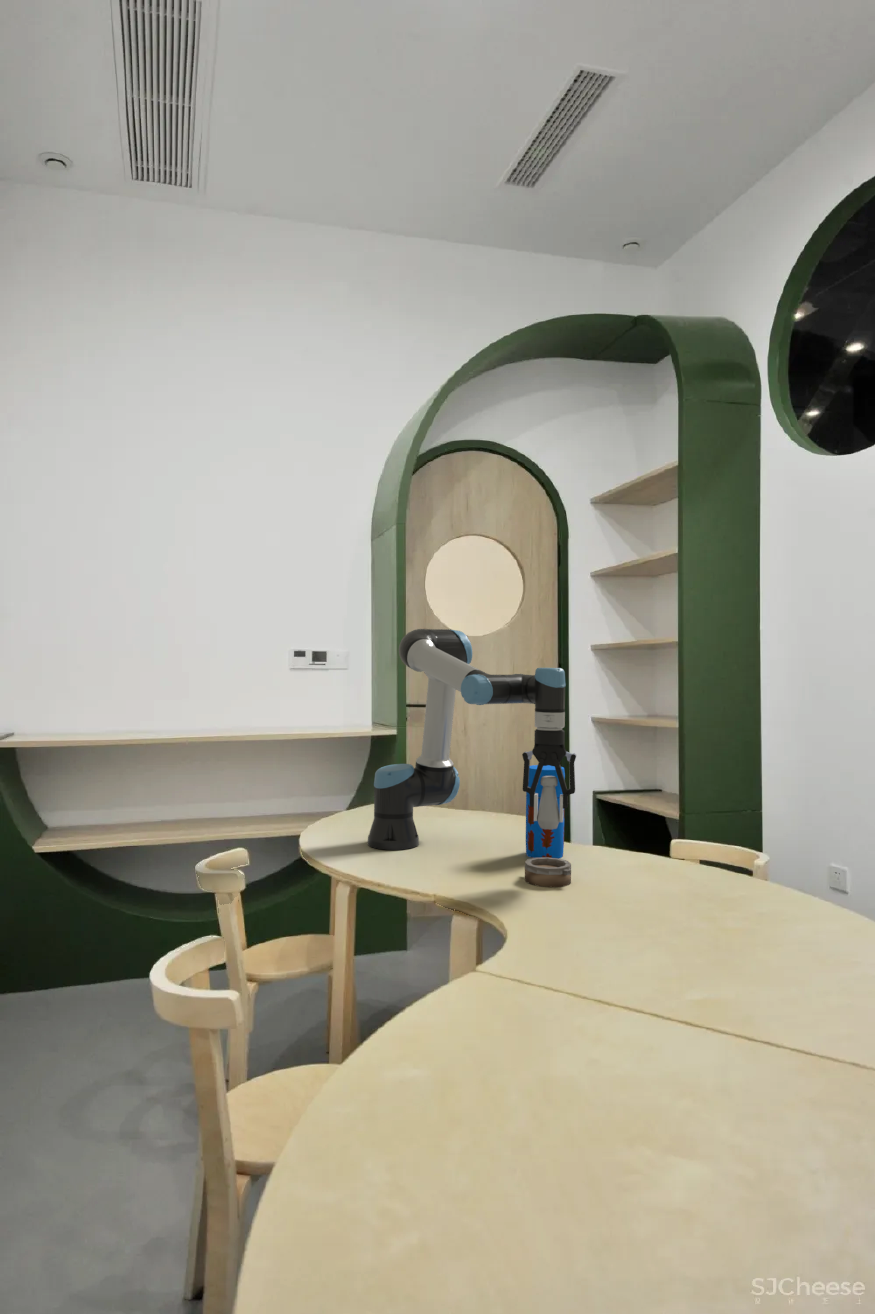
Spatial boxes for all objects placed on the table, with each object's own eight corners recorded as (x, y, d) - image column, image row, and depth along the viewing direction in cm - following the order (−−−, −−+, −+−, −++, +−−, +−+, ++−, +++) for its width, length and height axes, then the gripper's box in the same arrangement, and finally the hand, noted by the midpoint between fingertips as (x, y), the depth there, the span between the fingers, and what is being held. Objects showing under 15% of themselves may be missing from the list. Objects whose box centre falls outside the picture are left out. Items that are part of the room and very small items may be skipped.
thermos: (565, 860, 229) (567, 770, 229) (527, 859, 229) (528, 769, 229) (560, 850, 240) (561, 765, 240) (524, 850, 240) (525, 764, 240)
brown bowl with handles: (511, 878, 209) (511, 860, 209) (543, 871, 217) (543, 854, 217) (552, 891, 198) (553, 872, 198) (584, 883, 206) (584, 865, 206)
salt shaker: (545, 831, 204) (545, 778, 204) (532, 826, 209) (533, 775, 209) (564, 829, 206) (565, 777, 206) (551, 824, 211) (552, 774, 211)
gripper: (510, 728, 206) (509, 821, 206) (586, 731, 202) (585, 825, 202) (514, 726, 213) (513, 815, 213) (587, 728, 209) (586, 819, 209)
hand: (548, 820), depth 207 cm, fingers closed on salt shaker, 6 cm apart
